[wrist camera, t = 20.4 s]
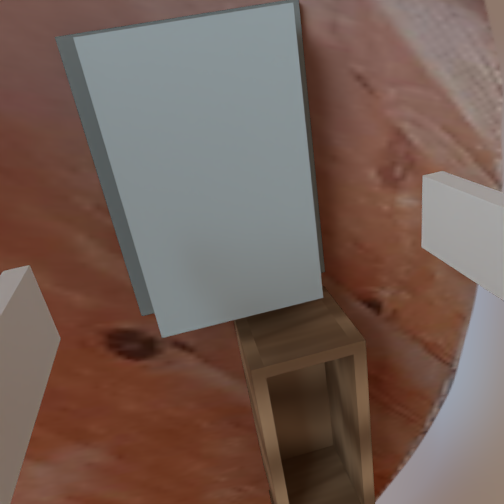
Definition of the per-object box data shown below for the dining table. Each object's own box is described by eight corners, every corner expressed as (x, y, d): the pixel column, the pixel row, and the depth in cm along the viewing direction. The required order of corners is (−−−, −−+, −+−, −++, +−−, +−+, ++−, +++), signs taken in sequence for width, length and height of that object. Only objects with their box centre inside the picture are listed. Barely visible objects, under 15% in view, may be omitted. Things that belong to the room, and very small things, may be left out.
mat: (57, 38, 22) (54, 37, 22) (295, 0, 24) (298, -2, 24) (142, 311, 30) (141, 316, 29) (321, 268, 31) (325, 272, 31)
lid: (86, 42, 22) (73, 37, 19) (272, 12, 24) (293, 2, 20) (161, 304, 29) (162, 338, 25) (303, 270, 30) (323, 297, 27)
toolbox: (231, 309, 31) (277, 455, 19) (323, 286, 32) (422, 413, 20) (271, 502, 40) (320, 684, 28) (343, 480, 40) (419, 648, 29)
